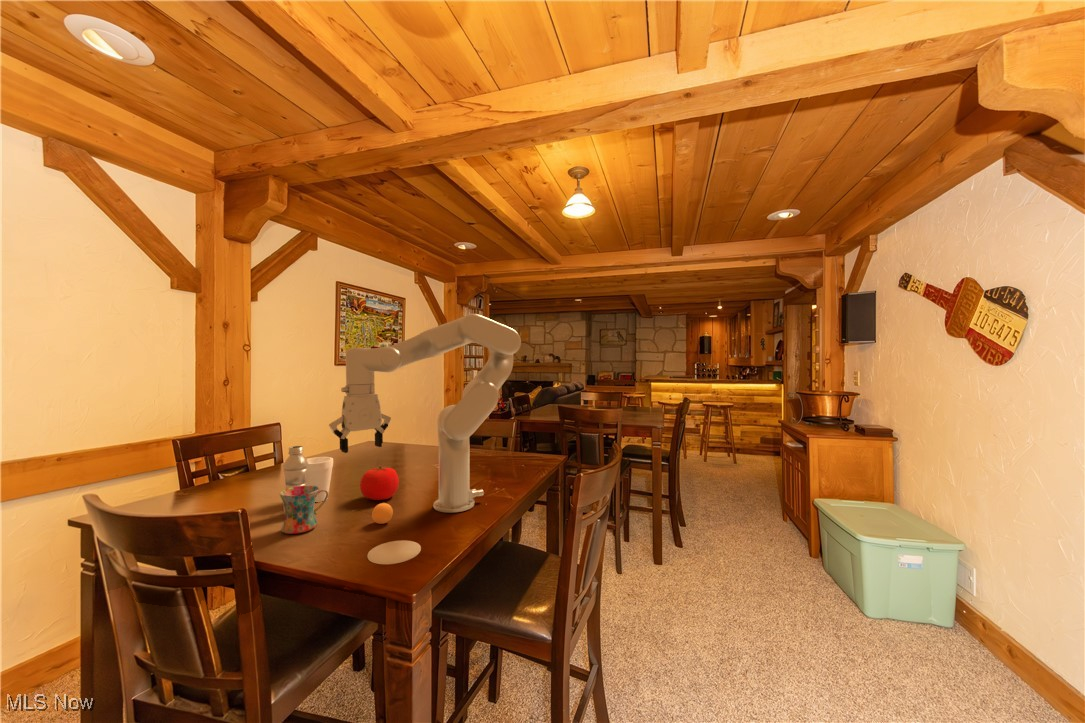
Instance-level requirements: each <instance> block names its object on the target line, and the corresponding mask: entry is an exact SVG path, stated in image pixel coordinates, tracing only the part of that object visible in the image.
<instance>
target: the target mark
mask: <svg viewBox="0 0 1085 723" xmlns="http://www.w3.org/2000/svg"><path fill="white" fill-rule="evenodd" d="M421 551H422V546H421V545H420V543H418V542H415V541H412V540H405V539H404V540H403V539H401V540H393V541H388V542H385V543H381V544H379V545H376V546H375V547H373V548H372V549H370V550H369V551H368V553H367V560H368V561H369V562H371V563H373V564H376V565H383V566H384V565H395V564H400V563H403V562H407V561H410V560H411V559H413V558H415V557H417V556H418V555H419V554H420V553H421Z"/></svg>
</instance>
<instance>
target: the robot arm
mask: <svg viewBox="0 0 1085 723" xmlns="http://www.w3.org/2000/svg"><path fill="white" fill-rule="evenodd" d="M471 343H475V344H477V345H480V346H482V347H484V348H487V350H488V353H489V354H488V358H487V359H488V360H487V361H486V363H485V364H484V365H483V367H482V368H481V369H480V370H479V371H478V373H477V374H476V375H475V376H474V377H473V378H472V379H471V380H470V381H469V382H468V383H467V384H466V385H465V387H464V389H463V391H462V396H461V397H462V398H461V399H460V400H459V401H458V402H457V404H451V405H448V406H446V407H444V408H442V410H441V411H440V412H439V414H438V417H437V438H438V439H437V441H438V499H437V500H435V501H434V502H433V505H432V506H433V509H434V510H435V511H437V512H439V513H447V514H448V513H449V514H451V513H460V512H461V513H462V512H464V511H465V512H466V511H468V510H471V509H472V508H474V506H475V497H483V496H484V493H485V492H484V490H483V488H481V489H478V490H477V489H476V488H473V489H471V488H470V485H471V484H470V481H471V480H470V478H471V477H470V475H471V473H470V471H471V470H470V454H471V453H470V452H471V451H470V449H471V448H470V437H471V436H472V435H473V434H474V433H475V432H476V431H477V430H478V429H479V427H480V426H481V425H483V423H484V421H485V420H486V419H487V418H488V417H489V416H490V414H491V413H492V412H493V411H494V410H495V409H496V407H497V404H498V403H499V398H500V397H499V396H500V394H499V391H500V389H501V388H502V386H503V385H504V383H505V382H506V381H507V380H508V378H510V377H509V376H510V375H511V373H512V370H513V367H514V354H517V352H519V350H520V348H521V346H522V339H521V336H520V334H519V333H518V331H516V330H515V329H513V328H511V327H509V326H507V325H505V324H502V323H500V322H497V321H495V320H493V319H490V318H489V317H486V316H483V315H480V314H478V313H468V314H467V315H465V316H461V317H460V318H459V317H458V318H456V319H454V320H451V321H448V322H445V323H443V324H440V325H437V326H435V327H432V328H429V329H428V328H427V330H425V331H422V332H420V333H419V334H417V335H414V336H413V337H410V338H408V339H406V340H402V341H401V342H397V343H394V344H392V345H388V346H383V347H376V348H375V347H374V348H369V347H351V348H348V349H347V350H346V351H345V382H346V383H345V385H344V387H341V389H340V390H341V393H345V395H344V396H343V400H342V408H341V416H340V417H338V418H337V419H336V420H335V419H334V420H333V421H332V422H330V423H329V424H328V427H329V428H330V430H331V432H332V434H334V435H335V436H337V437H338V438H339V450H340V451H341V453H344V454H347V453H349V439H348V438H347V437H348V435H349V434H350V432H360V431H367V430H375V432H374V446H375V447H378V448H382V444H383V443H384V442H383V441H384V440H383V438H384V437H383V436H384V435H383V434H384V433H385V431H386V429H387V428H388V427H389V424H390V422H391V420H392V417H390V416H389V415H386V414H384V413H382V410H381V404H380V399H379V394H377V393H376V391H375V372H379V373H393V372H395V371H397V370H399V368H402V367H404V366H408V365H411V364H413V363H415V362H419V361H422V360H426V359H430V358H434V357H438V356H440V355H443V354H446V353H448V352H450V351H453V350H455V349H458V348H461V347H464V346H466V345H469V344H471ZM382 420H383V423H382ZM340 424H341V428H342V429H341V431H340V430H339V429H338V426H339V425H340Z"/></svg>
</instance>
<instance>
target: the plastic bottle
mask: <svg viewBox="0 0 1085 723" xmlns="http://www.w3.org/2000/svg"><path fill="white" fill-rule="evenodd" d="M287 453H288V455H289V456H288V457H287V458H286V460H285V461H284V463H283V474H284V480H285V489H288V488H292V487H297V486H306V476H307V469H308V462H307V460H306V459H307V458H306V457H305V456H304V455H303V453H304V447H303V446H302V445H293V446H290V447H289V448H288V452H287ZM282 509H283V513H284V514H285V507H284V504H283V507H282Z"/></svg>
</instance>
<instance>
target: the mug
mask: <svg viewBox="0 0 1085 723" xmlns="http://www.w3.org/2000/svg"><path fill="white" fill-rule="evenodd" d="M323 491H324V492H326V497H325V499H324V501H323V502H321V503H320V504H319V506H318V507H316V508H315V504H316V503H315V499H316V496H317V495H318V494H319V493H320V492H323ZM278 495H279V496H280V498H281V500H282V503H283V505H284V507H285V513H284V514H285V515H284V516H285V517H284V522H283V524H282V527H281V532H282V533H284V534H289V535H292V534H293V535H296V534H302V533H305V532H308V531H311V530H313V529H314V528H316V527H317V526H318V524H319V523H318V520H317V519H316V516H315V515H318V513H317V511H318V510H319V509H321V508H322V506H324V504H326V501H327V500H328V499H327V498H329V494H328V492H327V491H326V490H320V491H319V487H317V486H312V485H307V486H297V487H292V488H288V489H286V488H285V489H283V490H281V491H280V492H279V494H278Z"/></svg>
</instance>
